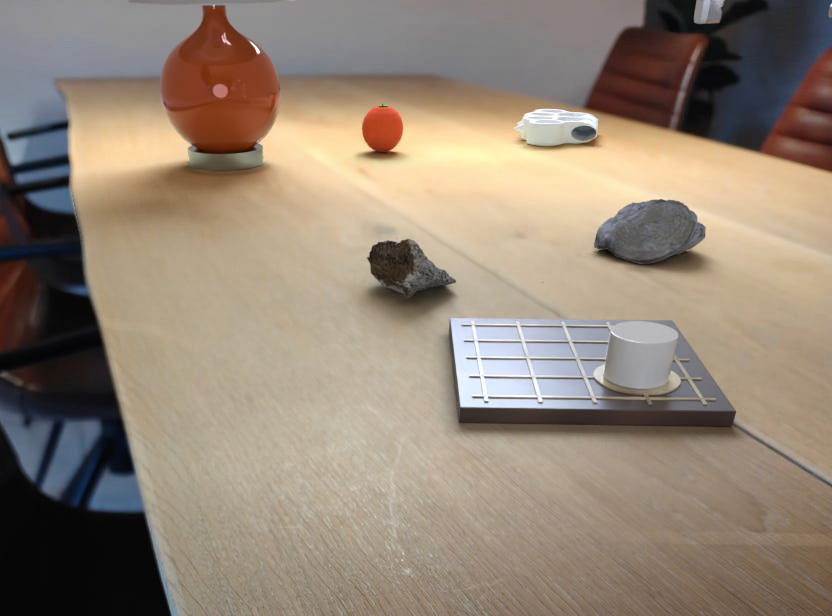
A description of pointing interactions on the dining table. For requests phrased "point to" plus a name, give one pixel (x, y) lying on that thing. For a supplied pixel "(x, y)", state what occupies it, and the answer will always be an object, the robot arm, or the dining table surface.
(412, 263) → the rock sample
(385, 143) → the clementine
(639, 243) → the fossilized seashell
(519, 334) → the game board
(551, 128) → the white flat lobed block
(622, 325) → the gray cylinder
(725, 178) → the dining table surface
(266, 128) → the lamp
